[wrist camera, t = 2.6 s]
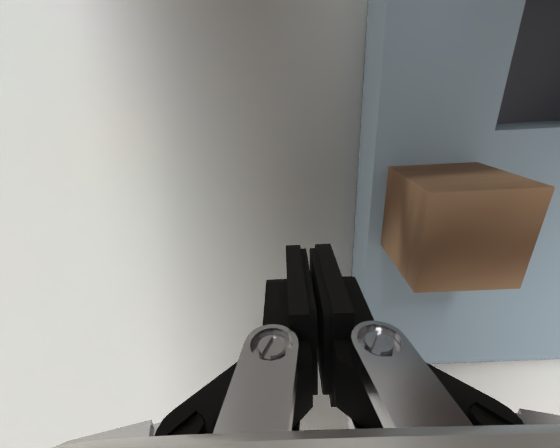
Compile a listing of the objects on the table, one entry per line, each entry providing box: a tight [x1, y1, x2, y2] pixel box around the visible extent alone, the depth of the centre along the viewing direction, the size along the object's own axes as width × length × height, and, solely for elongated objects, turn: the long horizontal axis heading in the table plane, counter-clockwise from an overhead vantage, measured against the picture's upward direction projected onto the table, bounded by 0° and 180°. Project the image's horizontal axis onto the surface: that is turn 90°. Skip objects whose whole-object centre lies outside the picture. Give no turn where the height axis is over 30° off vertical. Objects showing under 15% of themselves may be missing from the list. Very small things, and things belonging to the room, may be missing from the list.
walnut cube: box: [381, 162, 555, 293], centre depth 13 cm, size 4×4×4 cm
